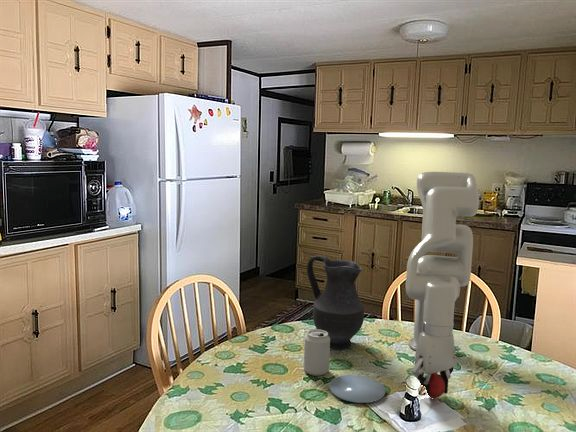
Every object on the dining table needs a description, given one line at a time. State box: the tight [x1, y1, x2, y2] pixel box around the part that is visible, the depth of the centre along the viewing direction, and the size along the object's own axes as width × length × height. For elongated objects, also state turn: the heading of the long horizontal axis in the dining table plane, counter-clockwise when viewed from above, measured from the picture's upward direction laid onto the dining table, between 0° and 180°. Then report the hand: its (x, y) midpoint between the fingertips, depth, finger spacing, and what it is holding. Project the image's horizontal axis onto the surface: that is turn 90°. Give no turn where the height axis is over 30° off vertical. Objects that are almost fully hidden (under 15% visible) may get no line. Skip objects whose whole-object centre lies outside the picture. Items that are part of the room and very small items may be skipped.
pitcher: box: [306, 254, 365, 351], centre depth 162 cm, size 17×21×30 cm
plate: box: [329, 374, 386, 404], centre depth 131 cm, size 15×15×1 cm
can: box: [303, 328, 331, 377], centre depth 141 cm, size 8×8×12 cm
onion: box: [428, 372, 445, 400], centre depth 127 cm, size 6×6×8 cm
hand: (433, 393), depth 128 cm, fingers closed on onion, 5 cm apart
